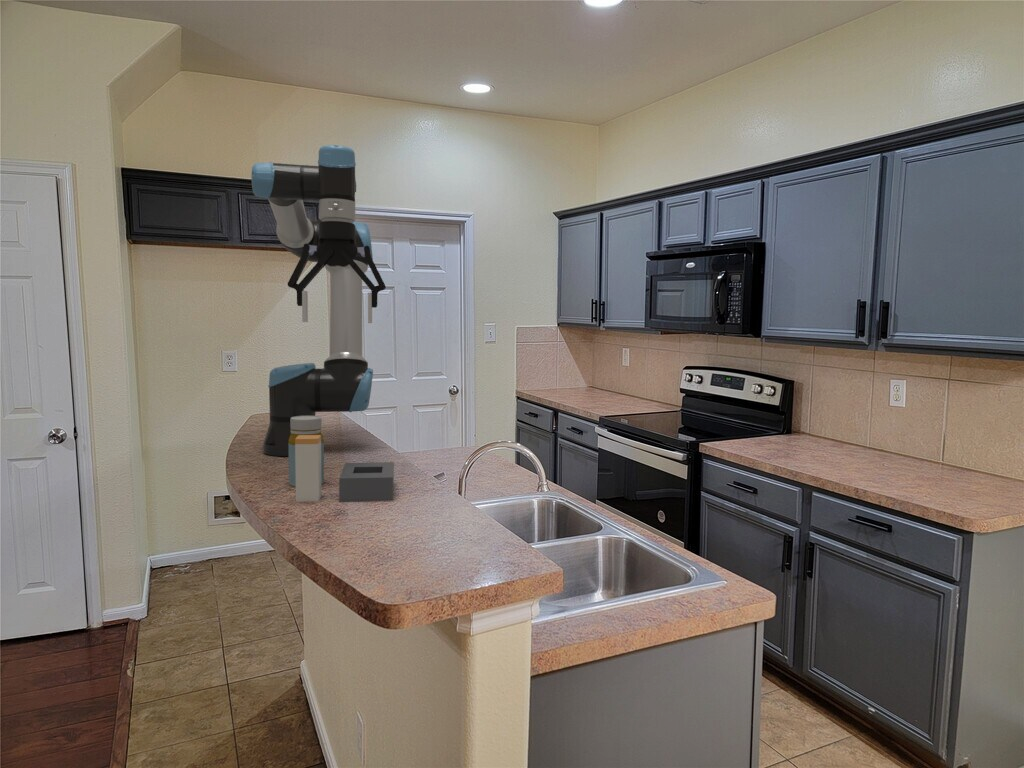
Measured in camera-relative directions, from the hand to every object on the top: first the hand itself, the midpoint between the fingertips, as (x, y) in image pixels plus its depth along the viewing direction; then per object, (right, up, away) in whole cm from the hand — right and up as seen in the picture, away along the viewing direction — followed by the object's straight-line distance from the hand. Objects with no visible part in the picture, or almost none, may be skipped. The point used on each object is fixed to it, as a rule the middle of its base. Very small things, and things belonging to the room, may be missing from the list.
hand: (337, 322), depth 145 cm
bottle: (-6, -35, -4) cm, 36 cm away
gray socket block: (+9, -36, -9) cm, 38 cm away
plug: (-2, -36, -15) cm, 39 cm away
